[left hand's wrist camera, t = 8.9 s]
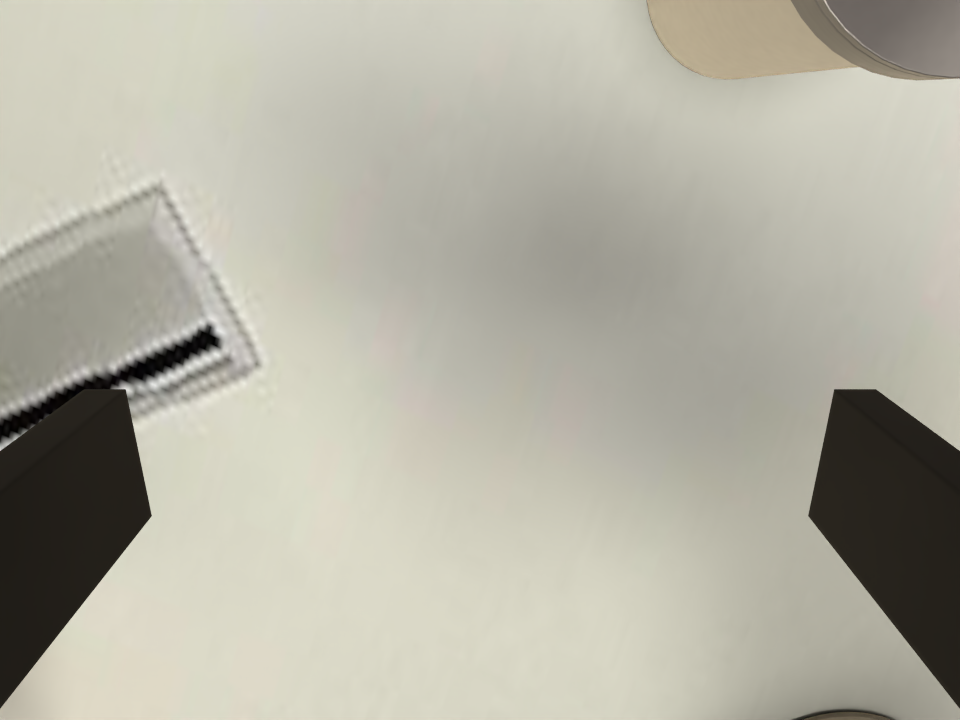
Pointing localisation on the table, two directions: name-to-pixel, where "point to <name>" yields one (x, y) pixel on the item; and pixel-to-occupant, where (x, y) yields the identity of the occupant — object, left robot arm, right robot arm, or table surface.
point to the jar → (740, 38)
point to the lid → (890, 34)
